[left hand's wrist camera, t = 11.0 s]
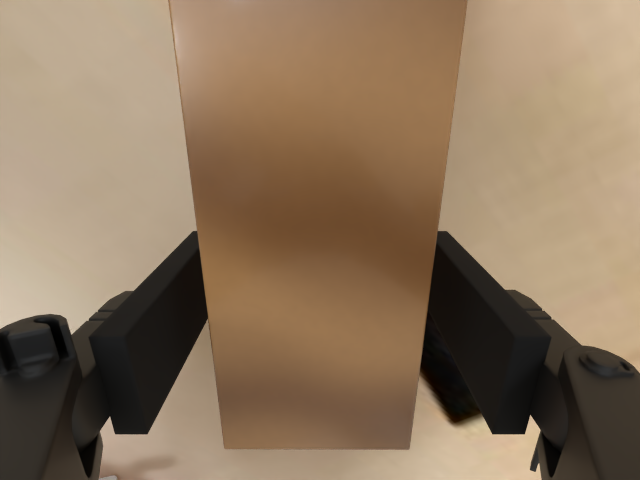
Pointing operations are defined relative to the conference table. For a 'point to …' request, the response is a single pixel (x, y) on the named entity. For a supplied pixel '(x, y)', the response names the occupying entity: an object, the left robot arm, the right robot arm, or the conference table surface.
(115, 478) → the fish
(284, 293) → the beam
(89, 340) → the left robot arm
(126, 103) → the conference table surface
